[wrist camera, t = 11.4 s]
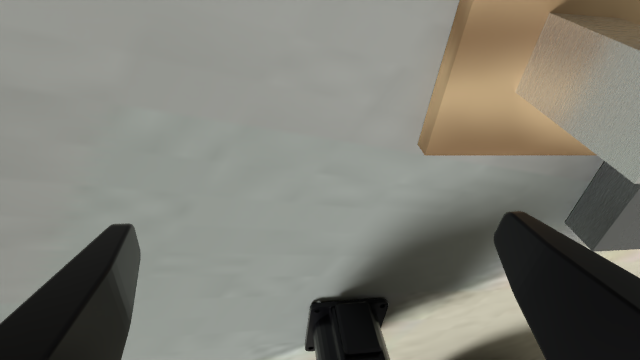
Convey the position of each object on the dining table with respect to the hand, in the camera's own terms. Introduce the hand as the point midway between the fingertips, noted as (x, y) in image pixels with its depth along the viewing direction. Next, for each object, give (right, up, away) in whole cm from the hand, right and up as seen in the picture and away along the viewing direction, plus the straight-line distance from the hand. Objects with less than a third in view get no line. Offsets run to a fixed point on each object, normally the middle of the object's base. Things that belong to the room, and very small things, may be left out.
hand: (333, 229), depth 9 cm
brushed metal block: (+12, +7, +10) cm, 18 cm away
